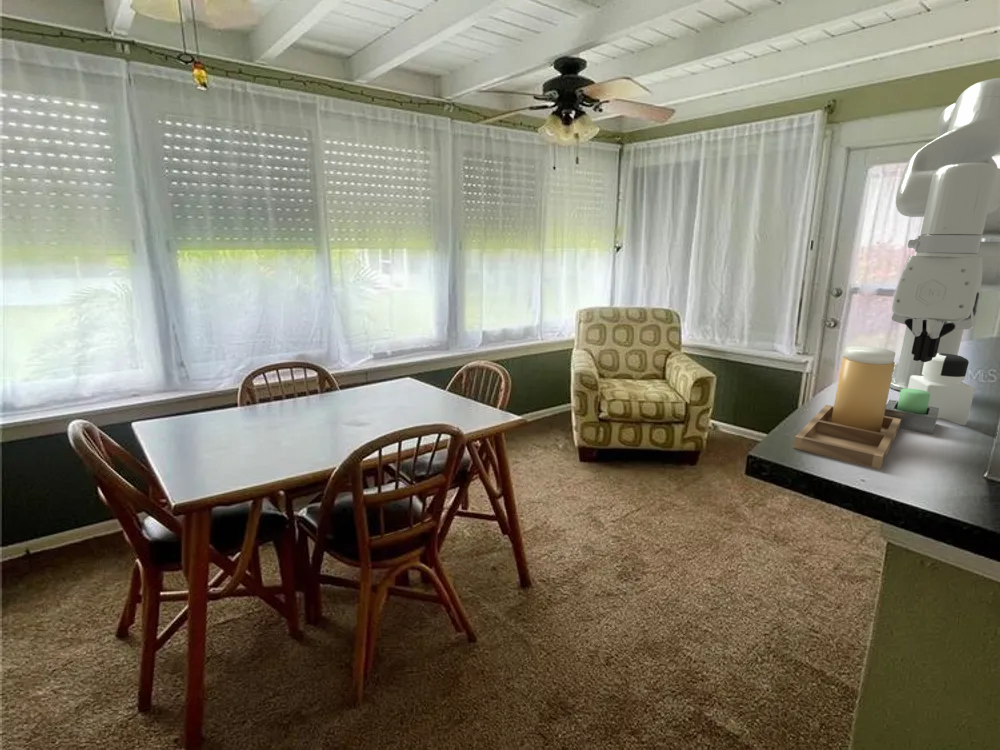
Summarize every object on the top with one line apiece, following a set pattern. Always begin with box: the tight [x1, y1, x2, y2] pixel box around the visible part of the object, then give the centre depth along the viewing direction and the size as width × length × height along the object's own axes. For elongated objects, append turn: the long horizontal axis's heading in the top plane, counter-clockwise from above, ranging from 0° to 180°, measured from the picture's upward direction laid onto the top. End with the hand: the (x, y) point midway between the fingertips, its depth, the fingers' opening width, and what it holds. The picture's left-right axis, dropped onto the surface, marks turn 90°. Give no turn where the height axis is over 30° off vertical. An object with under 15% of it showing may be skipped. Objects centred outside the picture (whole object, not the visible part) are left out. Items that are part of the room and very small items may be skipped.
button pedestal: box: [884, 399, 939, 435], centre depth 90 cm, size 7×7×4 cm
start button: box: [897, 388, 930, 414], centre depth 89 cm, size 4×4×4 cm
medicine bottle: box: [908, 353, 976, 427], centre depth 95 cm, size 7×7×12 cm
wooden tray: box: [792, 404, 901, 470], centre depth 84 cm, size 21×11×3 cm, turn 138°
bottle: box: [831, 345, 896, 432], centre depth 86 cm, size 7×7×14 cm
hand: (922, 360), depth 87 cm, fingers closed
